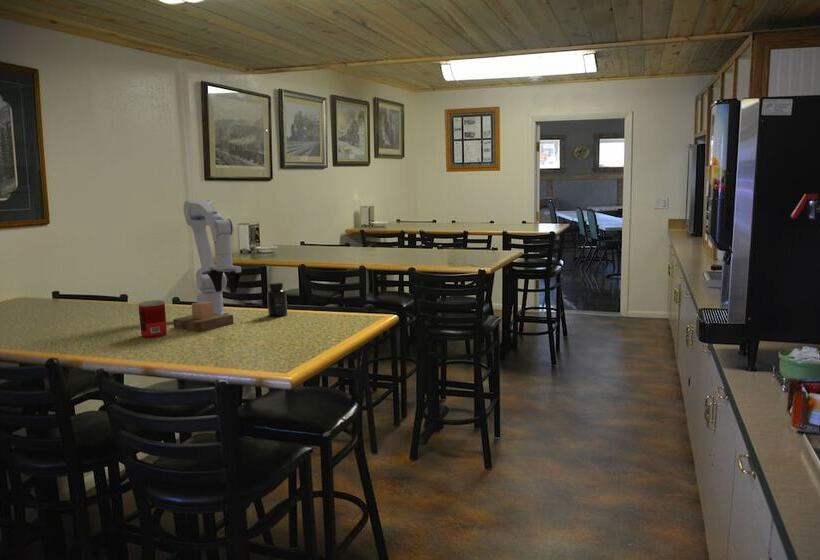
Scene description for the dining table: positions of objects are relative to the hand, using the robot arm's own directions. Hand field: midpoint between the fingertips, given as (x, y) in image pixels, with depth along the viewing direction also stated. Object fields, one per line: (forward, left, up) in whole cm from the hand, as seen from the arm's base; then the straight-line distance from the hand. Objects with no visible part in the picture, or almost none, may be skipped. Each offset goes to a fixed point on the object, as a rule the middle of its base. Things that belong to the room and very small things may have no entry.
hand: (226, 291), depth 239 cm
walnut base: (-1, -10, -10) cm, 14 cm away
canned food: (-4, -28, -11) cm, 30 cm away
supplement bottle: (+10, +15, -11) cm, 21 cm away
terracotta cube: (-1, -10, -7) cm, 12 cm away
